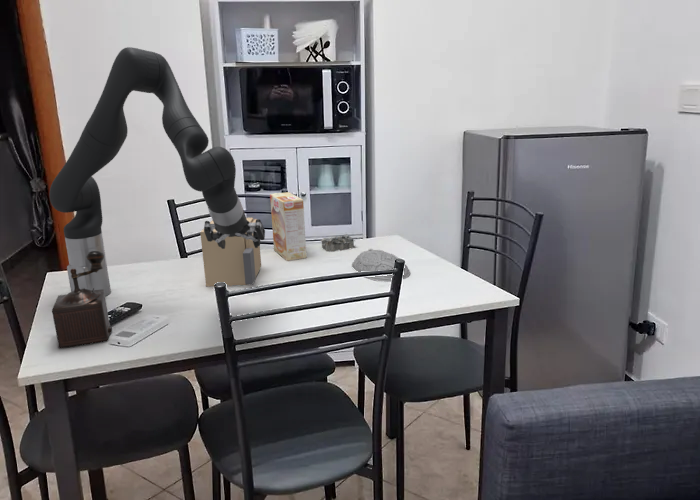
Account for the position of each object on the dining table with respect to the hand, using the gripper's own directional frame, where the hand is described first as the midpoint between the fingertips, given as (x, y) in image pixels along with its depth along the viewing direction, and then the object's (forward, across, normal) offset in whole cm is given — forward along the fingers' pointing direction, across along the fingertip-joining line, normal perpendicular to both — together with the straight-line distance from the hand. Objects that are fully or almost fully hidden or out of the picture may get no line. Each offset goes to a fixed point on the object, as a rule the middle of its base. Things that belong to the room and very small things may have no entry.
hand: (240, 245), depth 151 cm
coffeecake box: (+41, -7, -19) cm, 45 cm away
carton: (+25, +7, -3) cm, 26 cm away
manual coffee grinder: (-2, +34, +24) cm, 41 cm away
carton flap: (+23, 0, -2) cm, 23 cm away
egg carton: (+45, -23, -23) cm, 56 cm away
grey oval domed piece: (+28, -36, -5) cm, 46 cm away
